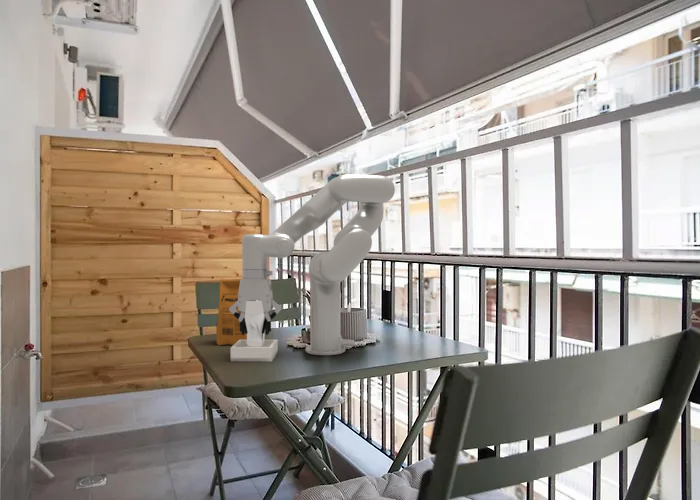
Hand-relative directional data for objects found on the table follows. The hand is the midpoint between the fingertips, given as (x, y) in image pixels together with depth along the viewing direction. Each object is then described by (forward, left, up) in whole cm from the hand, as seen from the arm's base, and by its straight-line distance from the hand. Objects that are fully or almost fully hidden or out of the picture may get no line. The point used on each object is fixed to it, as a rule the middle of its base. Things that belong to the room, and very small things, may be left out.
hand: (255, 333), depth 149 cm
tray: (0, 0, -7) cm, 7 cm away
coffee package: (+11, -21, -7) cm, 25 cm away
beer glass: (0, 0, -5) cm, 5 cm away
